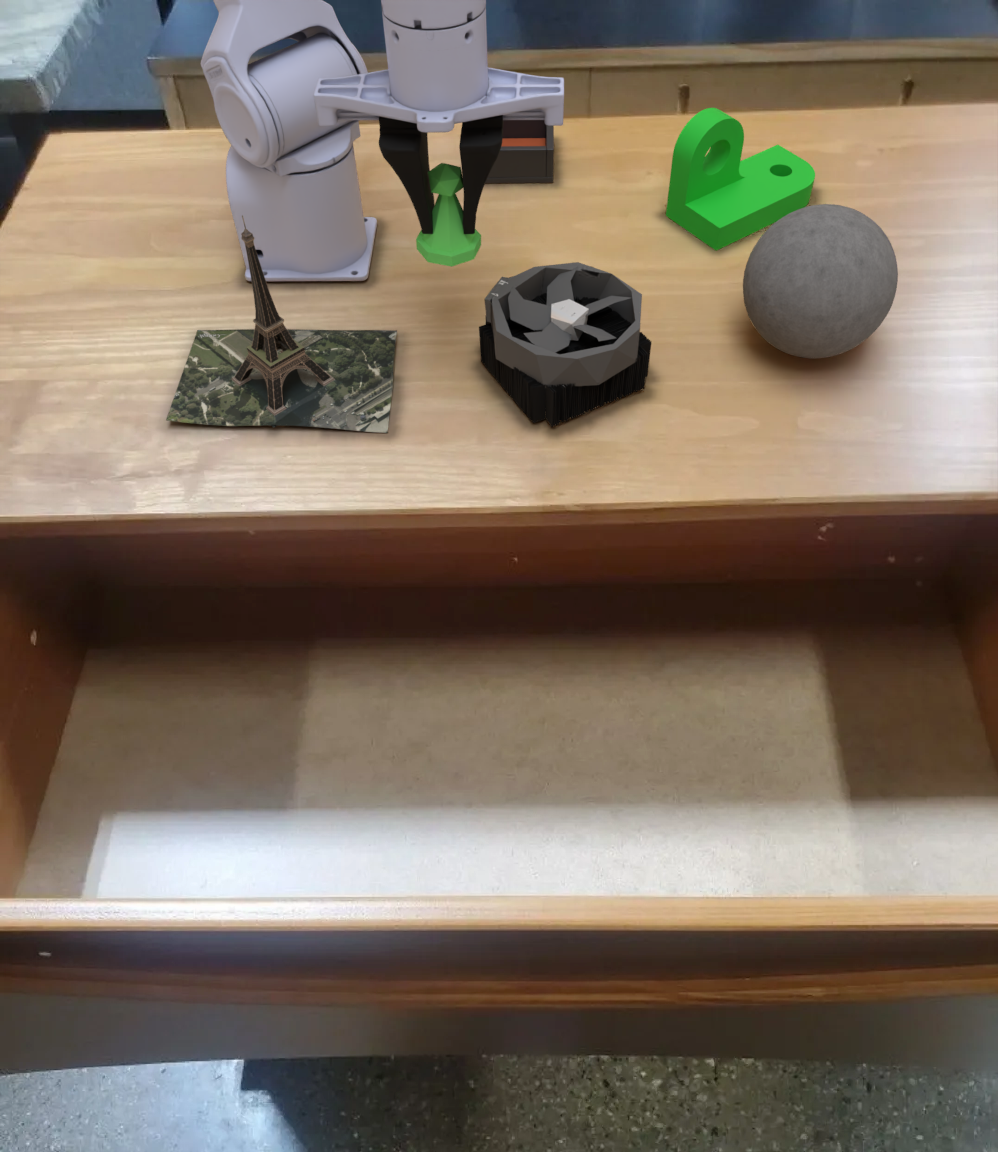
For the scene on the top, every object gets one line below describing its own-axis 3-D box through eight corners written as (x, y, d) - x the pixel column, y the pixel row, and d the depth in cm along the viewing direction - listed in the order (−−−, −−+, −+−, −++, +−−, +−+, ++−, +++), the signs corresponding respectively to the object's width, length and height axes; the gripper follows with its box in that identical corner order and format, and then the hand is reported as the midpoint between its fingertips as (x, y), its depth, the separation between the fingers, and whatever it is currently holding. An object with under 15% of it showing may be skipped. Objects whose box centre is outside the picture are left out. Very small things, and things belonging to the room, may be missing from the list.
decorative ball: (757, 397, 70) (787, 273, 62) (714, 307, 76) (736, 183, 68) (897, 378, 70) (944, 253, 62) (844, 290, 76) (880, 166, 69)
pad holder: (475, 183, 87) (473, 150, 84) (478, 142, 91) (476, 109, 88) (553, 183, 86) (553, 149, 84) (552, 141, 90) (553, 108, 88)
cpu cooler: (675, 322, 66) (539, 376, 63) (665, 389, 70) (539, 443, 67) (588, 241, 71) (460, 288, 68) (585, 308, 76) (465, 354, 73)
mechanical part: (716, 250, 80) (732, 155, 74) (665, 215, 83) (676, 120, 77) (825, 198, 84) (849, 103, 78) (773, 166, 87) (792, 72, 81)
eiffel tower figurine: (401, 335, 75) (380, 164, 64) (387, 433, 68) (361, 262, 58) (198, 334, 75) (144, 165, 65) (166, 431, 69) (100, 262, 58)
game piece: (484, 264, 67) (484, 180, 62) (419, 268, 67) (414, 184, 62) (477, 226, 69) (477, 143, 65) (414, 230, 69) (409, 146, 64)
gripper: (290, 41, 54) (330, 261, 65) (566, 40, 53) (560, 262, 64) (310, -17, 58) (344, 198, 69) (566, -19, 58) (560, 198, 68)
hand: (448, 225), depth 67 cm, fingers closed on game piece, 2 cm apart
